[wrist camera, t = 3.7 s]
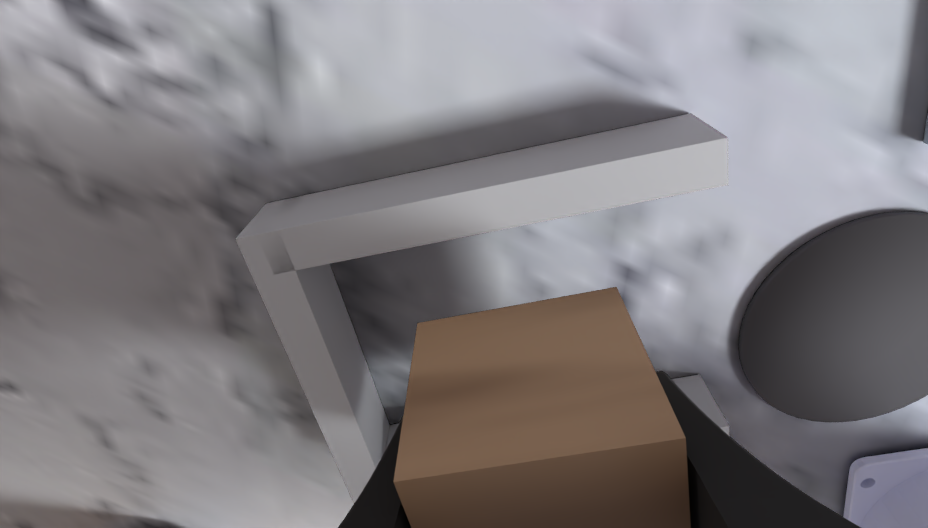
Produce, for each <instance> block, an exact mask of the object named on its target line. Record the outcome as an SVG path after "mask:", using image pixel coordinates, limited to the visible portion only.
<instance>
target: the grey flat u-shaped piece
mask: <svg viewBox="0 0 928 528" xmlns="http://www.w3.org/2000/svg"><path fill="white" fill-rule="evenodd" d="M726 185H728V137H726V136H725V135H723V134H722V133H720V132H719V131H717V130H716V129H714V128H713V127H711V126H710V125H708V124H706V123H705V122H703V121H702V120H700V119H699V118H697V117H696V116H694V115H693V114H691V113H690V114H686V115H681V116H676V117H671V118H667V119H662V120H657V121H653V122H648V123H643V124H638V125H634V126H629V127H624V128H620V129H615V130H610V131H605V132H601V133H596V134H591V135H586V136H582V137H577V138H572V139H568V140H563V141H558V142H553V143H549V144H544V145H539V146H535V147H530V148H525V149H520V150H516V151H511V152H506V153H501V154H497V155H492V156H487V157H483V158H478V159H473V160H468V161H464V162H459V163H454V164H450V165H445V166H440V167H435V168H431V169H426V170H421V171H416V172H412V173H407V174H402V175H398V176H393V177H388V178H383V179H379V180H374V181H369V182H365V183H360V184H355V185H350V186H346V187H341V188H336V189H331V190H327V191H322V192H317V193H313V194H308V195H303V196H298V197H294V198H289V199H284V200H280V201H275V202H270V203H266V204H265V205H264V206H263V207H262V208H261V210H260V211H259V212H258V213H257V214H256V215H255V217H254V218H253V219H252V220H251V221H250V222H249V224H248V225H247V226H246V227H245V228H244V229H243V231H242V232H241V233H240V234H239V235H238V236H237V237H236V239H235V240H236V242H237V244H238V247H239V249H240V251H241V253H242V256H243V258H244V260H245V262H246V265H247V267H248V269H249V271H250V273H251V276H252V278H253V280H254V282H255V285H256V287H257V289H258V291H259V293H260V296H261V298H262V300H263V302H264V305H265V307H266V309H267V311H268V313H269V316H270V318H271V320H272V322H273V325H274V327H275V329H276V331H277V333H278V336H279V338H280V340H281V342H282V345H283V347H284V349H285V351H286V354H287V356H288V358H289V360H290V362H291V365H292V367H293V369H294V371H295V374H296V376H297V378H298V380H299V382H300V385H301V387H302V389H303V391H304V394H305V396H306V398H307V400H308V402H309V405H310V407H311V409H312V411H313V414H314V416H315V418H316V420H317V422H318V425H319V427H320V429H321V431H322V434H323V436H324V438H325V440H326V443H327V445H328V447H329V449H330V451H331V454H332V456H333V458H334V460H335V463H336V465H337V467H338V469H339V471H340V474H341V476H342V478H343V480H344V483H345V485H346V487H347V489H348V491H349V494H350V496H351V498H352V500H353V503H355V502H356V500H357V499H358V497H359V495H360V494H361V492H362V491H363V489H364V488H365V486H366V484H367V483H368V481H369V479H370V477H371V476H372V474H373V472H374V470H375V469H376V467H377V465H378V463H379V461H380V460H381V458H382V456H383V454H384V452H385V450H386V449H387V447H388V445H389V443H390V441H391V439H392V437H393V435H394V433H395V431H396V429H397V427H398V425H399V424H394V425H389V422H388V419H387V417H386V414H385V411H384V409H383V406H382V403H381V400H380V398H379V395H378V392H377V390H376V387H375V384H374V382H373V379H372V376H371V374H370V371H369V368H368V366H367V363H366V360H365V358H364V355H363V352H362V349H361V347H360V344H359V341H358V339H357V336H356V333H355V331H354V328H353V325H352V323H351V320H350V317H349V315H348V312H347V309H346V307H345V304H344V301H343V298H342V296H341V293H340V290H339V288H338V285H337V282H336V280H335V277H334V274H333V272H332V269H331V266H330V264H331V263H336V262H341V261H346V260H351V259H356V258H361V257H366V256H371V255H376V254H381V253H386V252H391V251H397V250H402V249H407V248H412V247H417V246H422V245H427V244H432V243H437V242H442V241H447V240H452V239H457V238H462V237H468V236H473V235H478V234H483V233H488V232H493V231H498V230H503V229H508V228H513V227H518V226H523V225H528V224H533V223H539V222H544V221H549V220H554V219H559V218H564V217H569V216H574V215H579V214H584V213H589V212H594V211H599V210H604V209H609V208H615V207H620V206H625V205H630V204H635V203H640V202H645V201H650V200H655V199H660V198H665V197H670V196H675V195H680V194H686V193H691V192H696V191H701V190H706V189H711V188H716V187H721V186H726ZM672 380H673V381H674V383H675V384H676V385H677V386H678V387H679V388H680V389H681V390H682V391H683V392H684V393H685V394H686V395H687V396H688V397H689V398H690V399H691V400H692V402H693V403H694V404H695V405H696V406H697V407H698V408H699V409H701V410H702V411H703V412H704V413H705V414H706V415H707V416H708V417H709V418H710V419H711V420H712V421H713V422H714V423H715V424H717V425H718V426H719V427H720V428H721V429H722V430H723V431H724V432H725V433H726V434H728V435H729V425H728V423H727V421H726V419H725V417H724V416H723V414H722V412H721V410H720V409H719V407H718V405H717V403H716V402H715V400H714V398H713V396H712V395H711V393H710V391H709V389H708V388H707V386H706V384H705V382H704V381H703V379H702V377H701V375H694V376H688V377H682V378H676V379H672Z"/></svg>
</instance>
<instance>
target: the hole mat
mask: <svg viewBox="0 0 928 528" xmlns="http://www.w3.org/2000/svg"><path fill="white" fill-rule="evenodd" d="M739 356H740V361H741V364H742V368H743V370H744V373H745V375H746V377H747V379H748V380H749V382H750V383H751V385H752V386H753V387H754V389H755V390H756V392H757V393H758V394H759V395H760V396H761V397H762V398H763V399H764V400H765V401H766V402H767V403H769V404H770V405H772V406H773V407H775V408H776V409H778V410H780V411H782V412H784V413H786V414H788V415H791V416H794V417H797V418H801V419H806V420H811V421H819V422H847V421H857V420H862V419H867V418H872V417H876V416H879V415H883V414H886V413H889V412H892V411H895V410H897V409H900V408H903V407H905V406H907V405H909V404H911V403H913V402H916V401H918V400H920V399H921V398H923V397H925V396H927V395H928V213H924V212H914V211H908V212H890V213H882V214H876V215H872V216H867V217H863V218H859V219H856V220H853V221H850V222H848V223H845V224H842V225H839V226H837V227H835V228H833V229H831V230H829V231H826V232H824V233H822V234H821V235H819V236H817V237H815V238H814V239H812V240H810V241H809V242H807V243H805V244H804V245H803V246H801V247H800V248H799V249H797V250H796V251H794V252H793V253H792V254H790V255H789V256H788V257H787V258H786V259H785V260H784V261H783V262H781V263H780V264H779V265H778V266H777V267H776V268H775V269H774V270H773V271H772V272H771V274H770V275H769V276H768V277H767V278H766V279H765V280H764V282H763V283H762V285H761V286H760V287H759V289H758V290H757V291H756V293H755V295H754V297H753V298H752V300H751V302H750V304H749V305H748V308H747V310H746V313H745V315H744V318H743V321H742V325H741V329H740V335H739Z"/></svg>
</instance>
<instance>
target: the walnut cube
mask: <svg viewBox="0 0 928 528" xmlns="http://www.w3.org/2000/svg"><path fill="white" fill-rule="evenodd" d="M393 482H394V485H395V487H396V490H397V493H398V495H399V498H400V500H401V503H402V505H403V508H404V510H405V513H406V515H407V518H408V521H409V523H410V526H411V528H691V523H690V505H689V487H688V468H687V450H686V437H685V435H684V433H683V431H682V429H681V426H680V424H679V422H678V420H677V418H676V416H675V413H674V411H673V409H672V407H671V405H670V402H669V400H668V398H667V396H666V394H665V392H664V389H663V387H662V385H661V383H660V381H659V379H658V376H657V374H656V372H655V370H654V368H653V365H652V363H651V361H650V359H649V357H648V355H647V352H646V350H645V348H644V346H643V344H642V342H641V339H640V337H639V335H638V333H637V331H636V328H635V326H634V324H633V322H632V320H631V318H630V315H629V313H628V311H627V309H626V307H625V305H624V302H623V300H622V298H621V296H620V294H619V292H618V289H617V287H613V288H608V289H602V290H597V291H591V292H586V293H580V294H575V295H569V296H564V297H558V298H553V299H547V300H542V301H536V302H531V303H525V304H520V305H514V306H509V307H503V308H498V309H492V310H487V311H481V312H476V313H470V314H465V315H459V316H454V317H448V318H443V319H437V320H432V321H426V322H421V323H417V329H416V336H415V342H414V349H413V356H412V362H411V369H410V375H409V382H408V389H407V395H406V402H405V408H404V415H403V422H402V428H401V435H400V442H399V448H398V455H397V461H396V468H395V475H394V481H393Z"/></svg>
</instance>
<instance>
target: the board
mask: <svg viewBox="0 0 928 528" xmlns="http://www.w3.org/2000/svg"><path fill="white" fill-rule="evenodd" d="M923 142H924V143H926V144H928V115H927V121H926V127H925V134H924V140H923Z"/></svg>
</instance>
